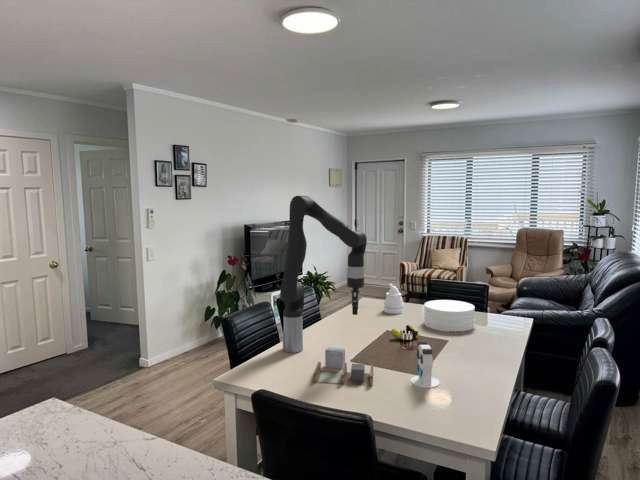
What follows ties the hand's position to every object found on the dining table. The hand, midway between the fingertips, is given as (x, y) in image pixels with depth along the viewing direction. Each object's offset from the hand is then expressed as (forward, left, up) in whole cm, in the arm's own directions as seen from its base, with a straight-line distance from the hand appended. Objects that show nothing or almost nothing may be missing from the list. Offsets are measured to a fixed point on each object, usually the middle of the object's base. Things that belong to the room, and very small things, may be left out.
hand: (355, 312), depth 192 cm
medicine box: (-8, -8, -23) cm, 26 cm away
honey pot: (+19, +93, -23) cm, 97 cm away
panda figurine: (+29, -17, -23) cm, 41 cm away
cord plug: (+2, -19, -22) cm, 29 cm away
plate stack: (+50, +66, -23) cm, 86 cm away
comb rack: (-3, -20, -23) cm, 31 cm away
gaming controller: (+24, +37, -23) cm, 50 cm away
